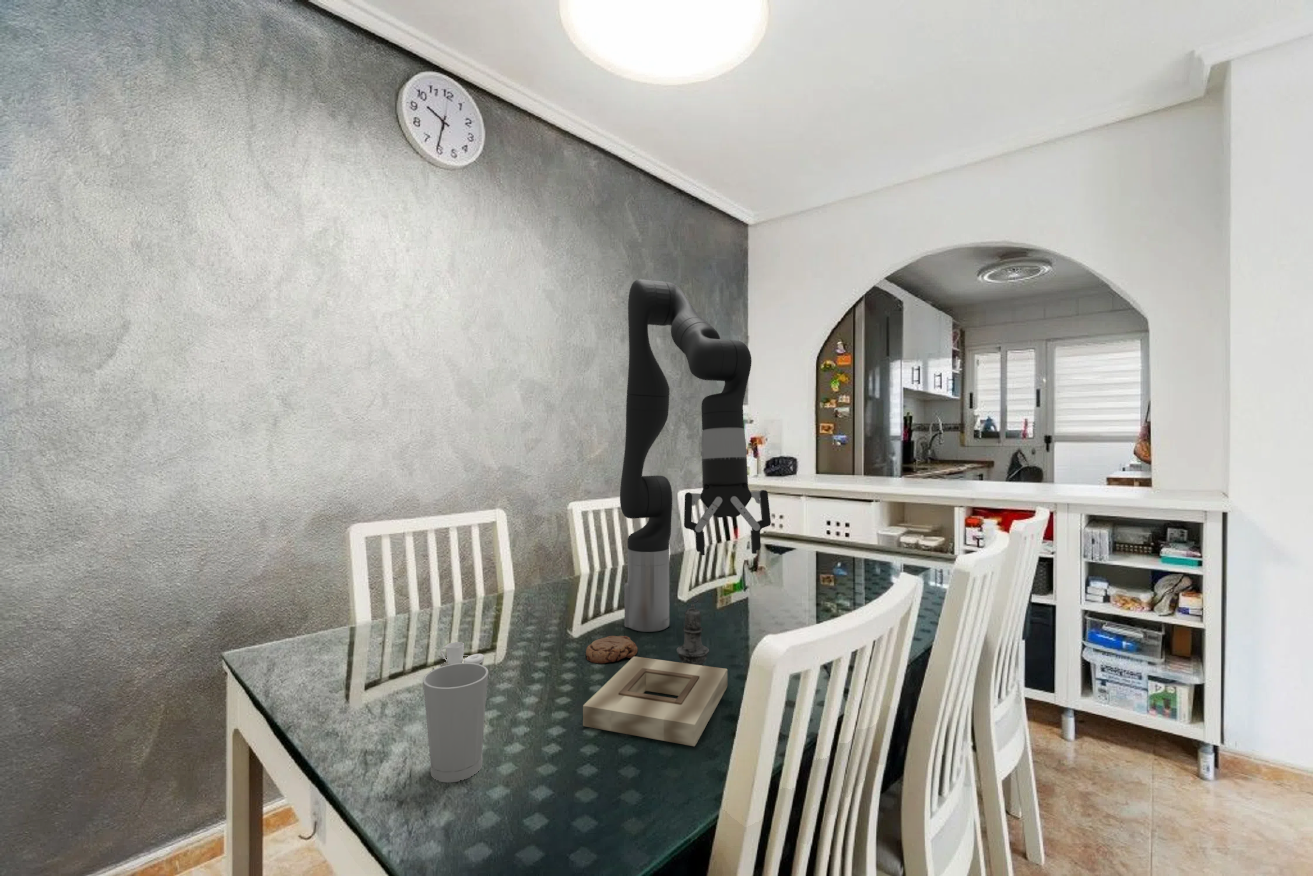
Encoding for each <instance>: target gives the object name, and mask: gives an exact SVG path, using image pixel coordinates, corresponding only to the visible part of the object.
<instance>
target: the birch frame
mask: <svg viewBox="0 0 1313 876" xmlns="http://www.w3.org/2000/svg"><path fill="white" fill-rule="evenodd" d="M727 688H728V669H727V668H722V667H715V666H710V665H709V666H708V665H704V666H702V665H694V664H687V663H682V662H681V661H679V662H678V661H671V660H664V659H655V658H648V657H642V656H641V657H640V656H636V655H635V656H634V657H631V658H630V660H628V661H627V662H626V663H625V664H624V665H623V666H622V667H621V668H620V669H619V670H618V671H617V672H616V673H615V674H614V675H613V676H612V677H611V678H610V679H609V680H608V681H606V683H605V684H604V685H602V686H601V688H600V689H598V690H597V692H596V693H594V694H593V695H592V696H591V697H590V698H589V699H588V700H587V701H586V702H585V703H584V704H583V705H582V726H583V727H588V728H591V729H592V728H594V729H597V730H603V731H609V732H614V733H620V734H626V735H631V736H637V737H641V738H648V739H653V740H658V741H664V742H667V743H668V742H669V743H675V744H680V745H685V746H691V747H695V746H697V743H698V741H699V740H700V738H701V736H702V735H703V732H704V730H705V728H707V727H706V726H707V724H708V722H709V721H710V719H711V718H712V716H713V713H714V712H715V710H716V708H717V707H718V706H719V705H718V704H719V703H720V701H721V699H722V698H723V696H724V694H725V692H726V690H727ZM645 692H652V693H659V694H665V695H672V696H677V698H674V697H667V696H661V695H656V694H649V693H645Z"/></svg>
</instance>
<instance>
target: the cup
mask: <svg viewBox="0 0 1313 876" xmlns="http://www.w3.org/2000/svg"><path fill="white" fill-rule="evenodd" d="M488 680H489V670H488V668H487V667H486V666H485V665H483V664H481V663H480V664H475V663H464V662H462V663H457V664H450V665H449V664H446V665H443V666H442V665H441V666H440V667H439V668H436V669H432V670H430V671H428V672H427V673H426V674H425V675H424V676H423V678H422V686H423V696H424V705H425V706H424V707H425V716H426V717H425V718H426V727H427V730H426V731H427V739H428V749H429V762H430V776H431V777H433V778H434V780H435V779H436V780H435V781H437V780H439V781H438V782H440V783H456V782H457V783H458V782H461V781H460V780H462V781H464V779H465V780H467V779H470V778H472V777H473V776H475V775H476V774H477V773H479V772H478V771H480V770H481V769H482V767H483V748H484V747H483V744H484V733H485V732H484V731H485V720H486V719H485V716H486V715H485V714H486V703H487V692H488ZM474 774H475V775H474ZM471 776H472V777H471ZM433 778H432V779H433Z"/></svg>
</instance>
